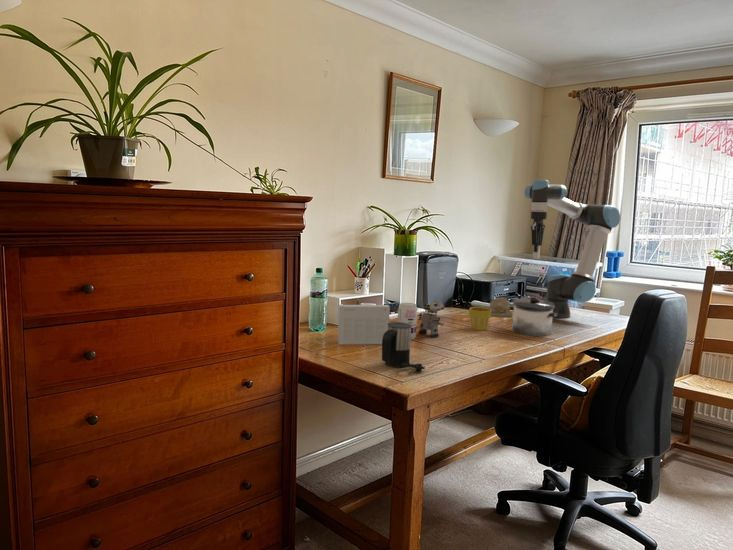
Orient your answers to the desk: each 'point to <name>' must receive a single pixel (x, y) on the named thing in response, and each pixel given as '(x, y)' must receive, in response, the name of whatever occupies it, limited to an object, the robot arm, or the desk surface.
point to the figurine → (431, 319)
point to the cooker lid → (534, 304)
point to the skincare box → (362, 323)
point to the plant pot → (479, 317)
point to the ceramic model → (500, 308)
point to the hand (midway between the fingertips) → (536, 258)
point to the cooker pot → (532, 321)
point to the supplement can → (408, 316)
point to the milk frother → (398, 346)
